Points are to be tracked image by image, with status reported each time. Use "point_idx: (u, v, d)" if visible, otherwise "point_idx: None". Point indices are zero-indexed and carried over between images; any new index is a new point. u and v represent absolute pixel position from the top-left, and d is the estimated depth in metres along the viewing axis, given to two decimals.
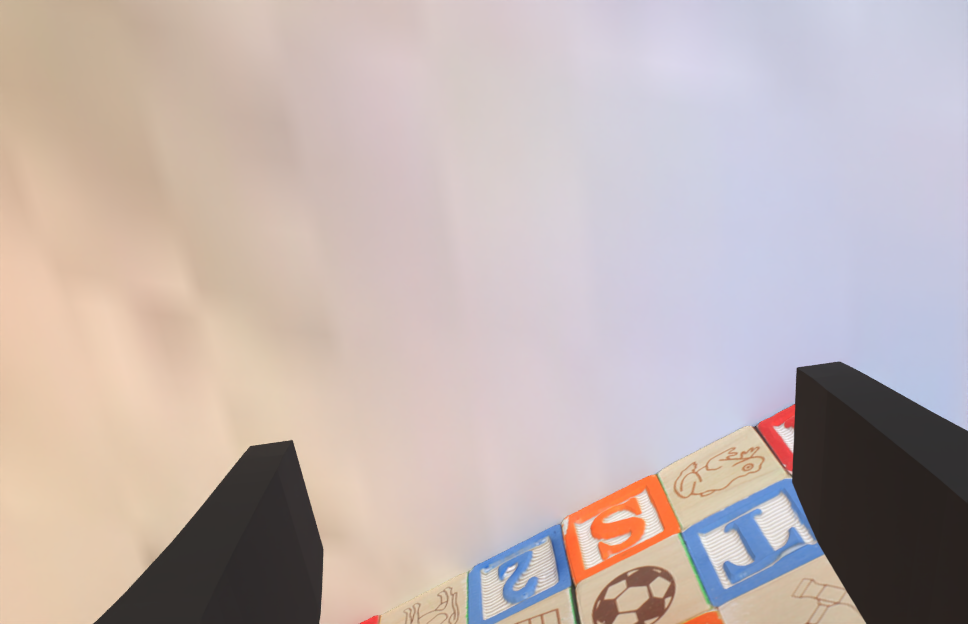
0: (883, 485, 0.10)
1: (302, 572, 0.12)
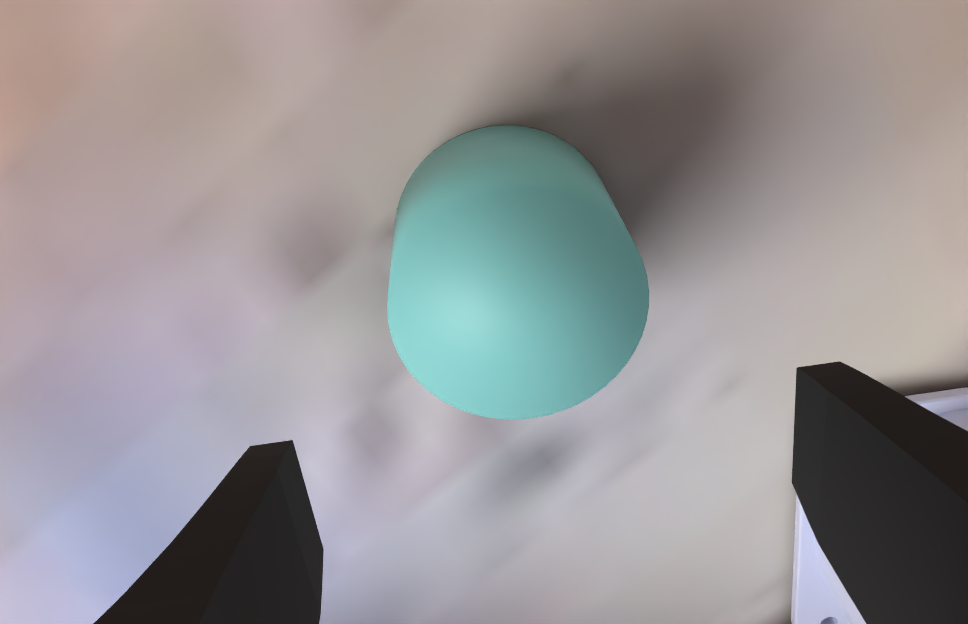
0: (883, 485, 0.10)
1: (302, 572, 0.12)
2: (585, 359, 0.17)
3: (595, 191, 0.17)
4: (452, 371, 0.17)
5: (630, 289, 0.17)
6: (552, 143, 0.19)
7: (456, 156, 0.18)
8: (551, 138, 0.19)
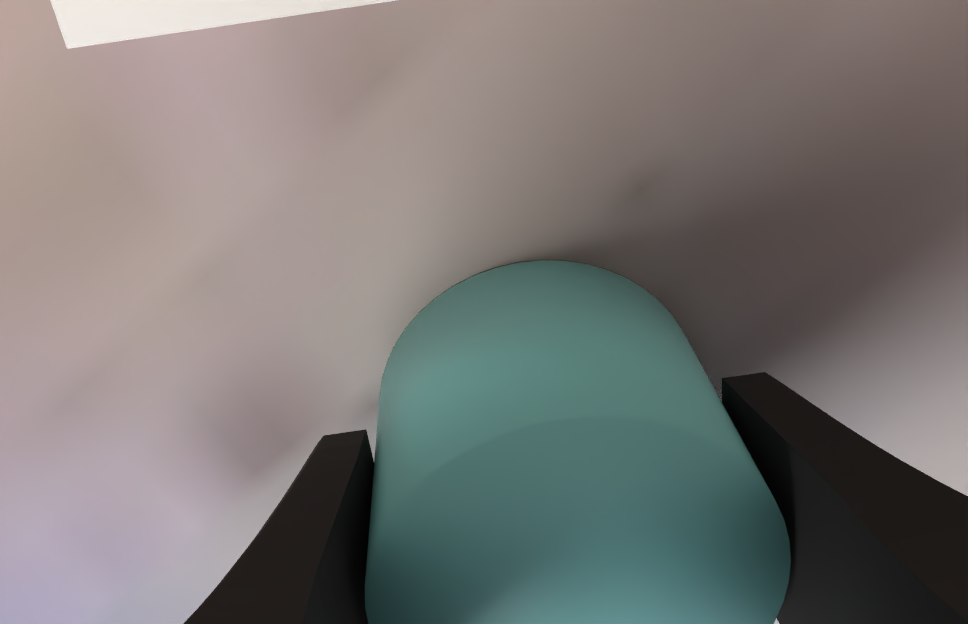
0: (793, 498, 0.10)
1: None
2: None
3: (698, 395, 0.10)
4: None
5: (761, 558, 0.10)
6: (617, 295, 0.12)
7: (469, 325, 0.12)
8: (613, 282, 0.12)
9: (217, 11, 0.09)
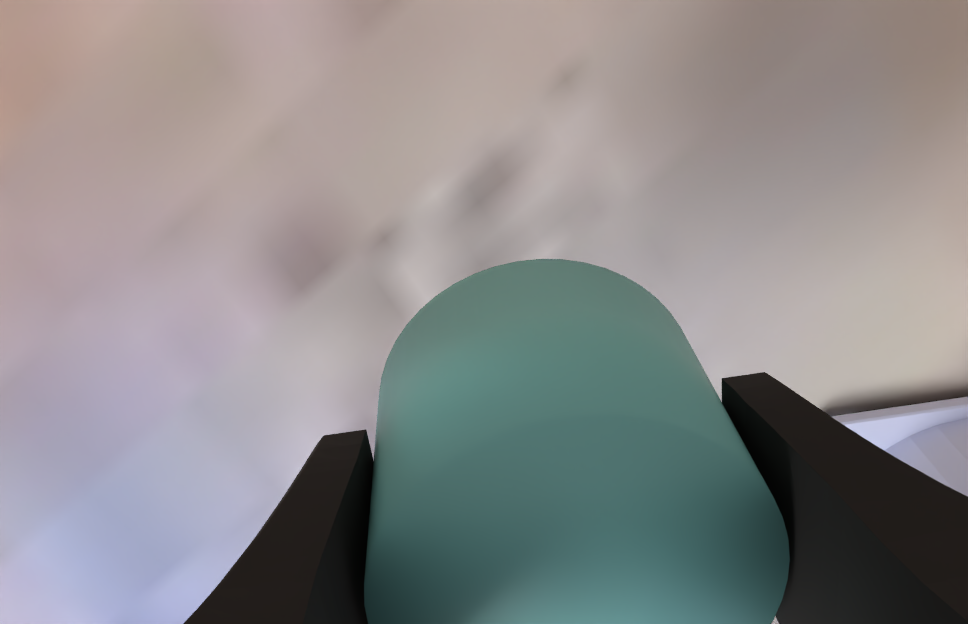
0: (793, 498, 0.10)
1: None
2: None
3: (697, 394, 0.10)
4: None
5: (760, 556, 0.10)
6: (616, 294, 0.12)
7: (468, 323, 0.12)
8: (612, 281, 0.12)
9: None
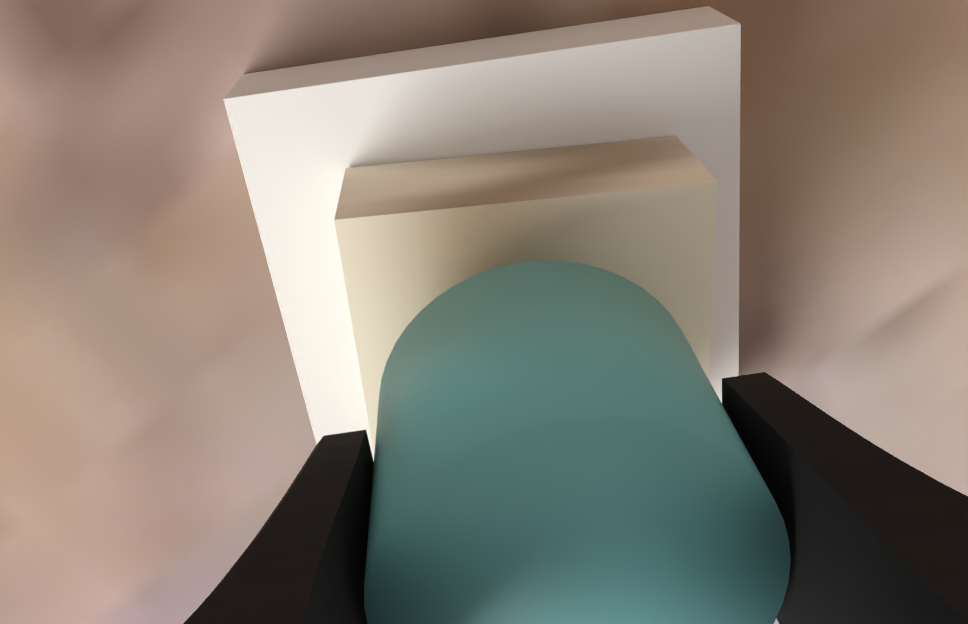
0: (793, 498, 0.10)
1: None
2: None
3: (698, 396, 0.10)
4: None
5: (761, 559, 0.10)
6: (616, 295, 0.12)
7: (468, 324, 0.12)
8: (612, 283, 0.12)
9: None
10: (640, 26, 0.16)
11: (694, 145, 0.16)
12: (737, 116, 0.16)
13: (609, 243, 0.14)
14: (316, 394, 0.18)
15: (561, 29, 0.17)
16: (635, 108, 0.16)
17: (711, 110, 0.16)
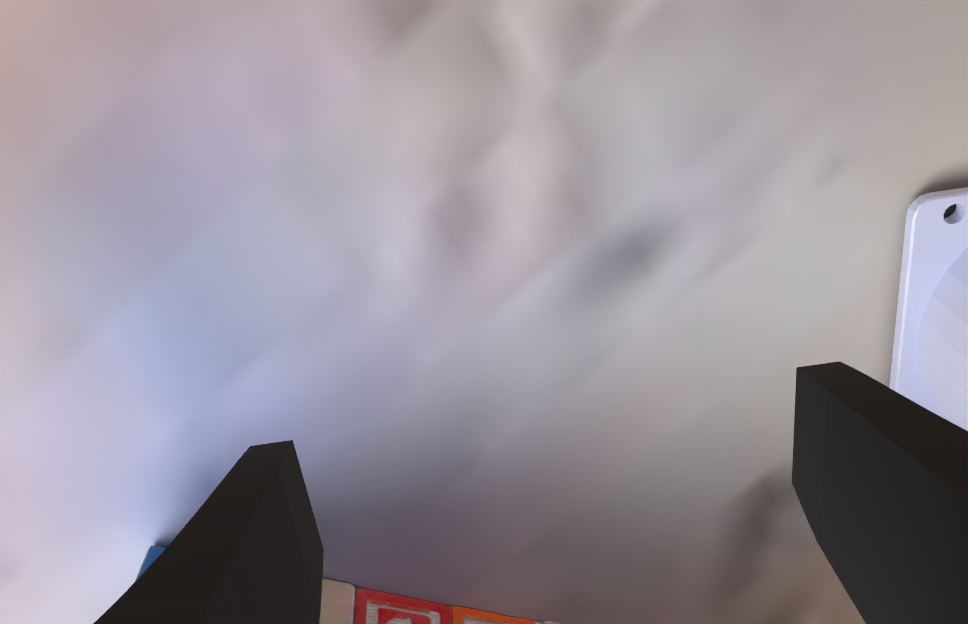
0: (883, 485, 0.10)
1: (302, 572, 0.12)
2: None
3: None
4: None
5: None
6: None
7: None
8: None
9: None
10: None
11: None
12: None
13: None
14: None
15: None
16: None
17: None
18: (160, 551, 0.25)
